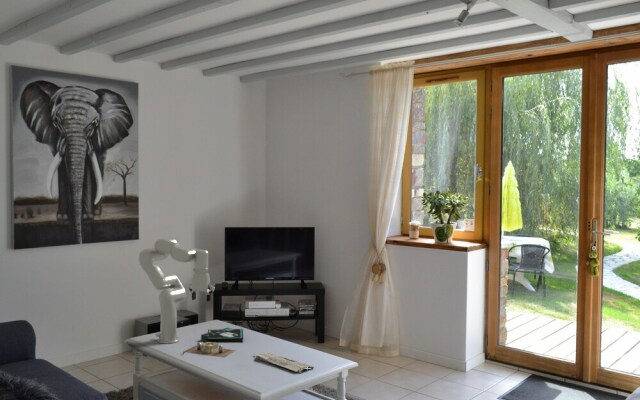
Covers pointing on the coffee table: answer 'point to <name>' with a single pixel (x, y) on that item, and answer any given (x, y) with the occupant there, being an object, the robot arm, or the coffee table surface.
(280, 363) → the newspaper
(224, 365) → the coffee table surface
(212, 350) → the frame
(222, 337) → the wall plaque
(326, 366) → the coffee table surface
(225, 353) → the board
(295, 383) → the coffee table surface
